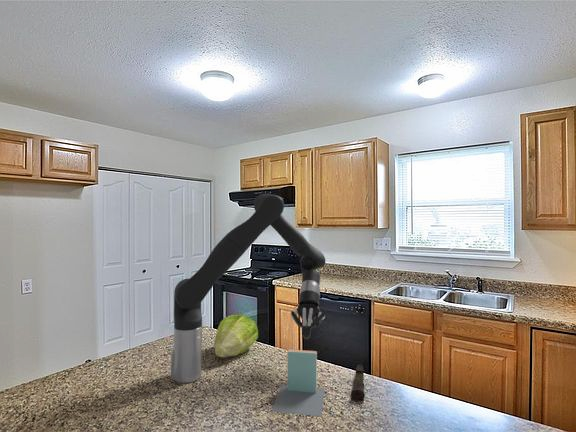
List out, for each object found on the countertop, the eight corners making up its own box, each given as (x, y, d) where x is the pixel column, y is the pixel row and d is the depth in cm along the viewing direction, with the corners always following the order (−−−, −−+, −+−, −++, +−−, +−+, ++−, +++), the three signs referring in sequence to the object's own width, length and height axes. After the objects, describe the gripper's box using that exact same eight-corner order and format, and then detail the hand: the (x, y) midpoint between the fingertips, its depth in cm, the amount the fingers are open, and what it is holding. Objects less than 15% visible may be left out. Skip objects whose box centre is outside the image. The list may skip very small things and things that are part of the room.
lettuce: (196, 364, 128) (200, 328, 126) (225, 336, 151) (229, 305, 149) (237, 376, 124) (241, 340, 122) (261, 345, 147) (264, 314, 145)
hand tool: (364, 404, 99) (364, 388, 99) (350, 402, 100) (350, 386, 100) (368, 377, 117) (368, 363, 117) (356, 375, 118) (356, 362, 118)
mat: (271, 413, 93) (271, 411, 93) (281, 386, 109) (281, 384, 109) (321, 418, 91) (321, 416, 91) (324, 390, 107) (324, 388, 107)
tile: (287, 390, 105) (287, 351, 106) (288, 387, 107) (288, 349, 108) (316, 392, 104) (316, 353, 104) (316, 389, 106) (316, 351, 106)
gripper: (291, 288, 127) (285, 331, 114) (326, 290, 125) (324, 334, 112) (293, 299, 132) (288, 342, 119) (327, 301, 130) (325, 344, 117)
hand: (305, 338), depth 116 cm, fingers closed
